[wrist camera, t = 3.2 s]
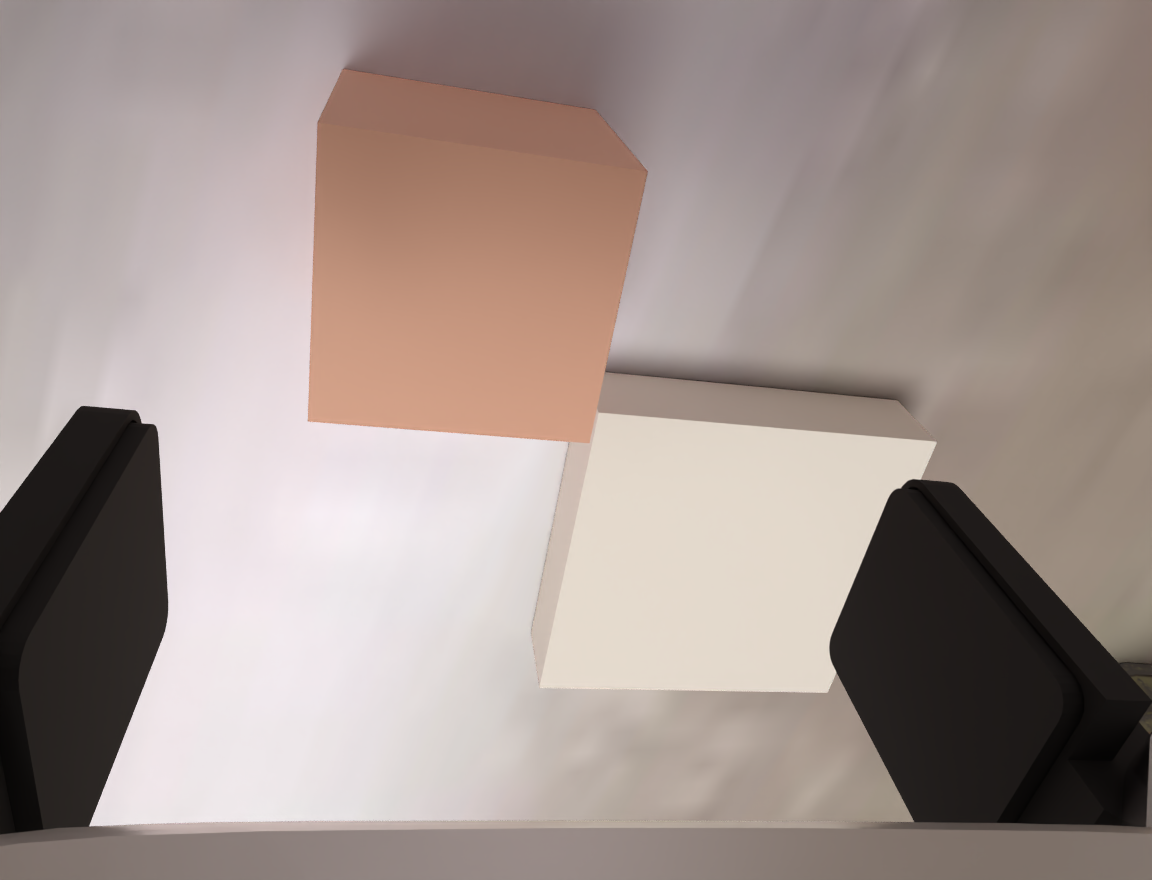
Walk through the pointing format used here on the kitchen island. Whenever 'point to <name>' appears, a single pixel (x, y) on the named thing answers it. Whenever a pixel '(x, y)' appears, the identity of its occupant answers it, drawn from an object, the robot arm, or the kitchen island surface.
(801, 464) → the block
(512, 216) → the cube
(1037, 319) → the kitchen island surface
